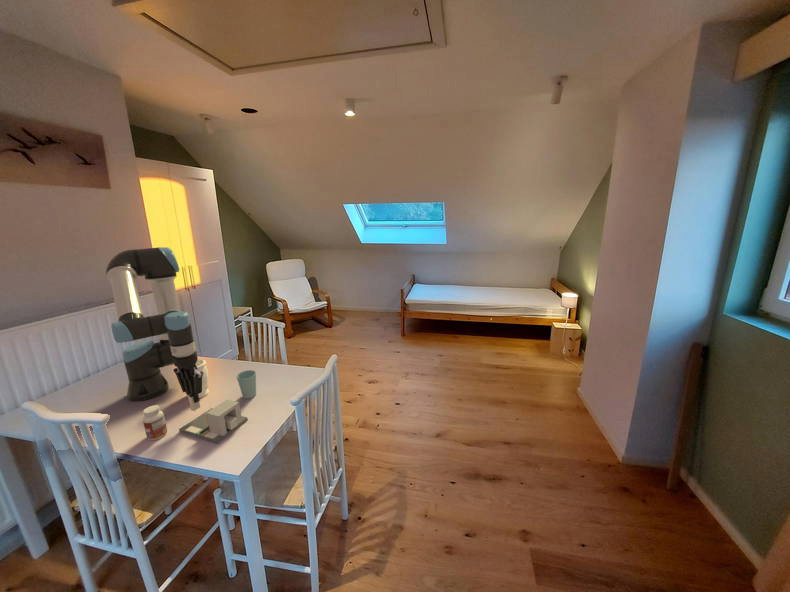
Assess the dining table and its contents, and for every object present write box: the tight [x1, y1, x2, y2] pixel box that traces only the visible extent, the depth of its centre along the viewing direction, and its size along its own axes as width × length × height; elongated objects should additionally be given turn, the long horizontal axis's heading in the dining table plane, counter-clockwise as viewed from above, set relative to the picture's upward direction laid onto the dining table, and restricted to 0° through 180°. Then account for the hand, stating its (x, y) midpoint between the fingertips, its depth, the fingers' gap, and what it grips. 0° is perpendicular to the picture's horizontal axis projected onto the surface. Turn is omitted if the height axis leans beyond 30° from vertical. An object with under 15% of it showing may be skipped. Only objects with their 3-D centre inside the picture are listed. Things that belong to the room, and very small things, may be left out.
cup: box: [236, 369, 257, 400], centre depth 142 cm, size 8×8×10 cm
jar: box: [186, 358, 210, 399], centre depth 143 cm, size 11×10×15 cm
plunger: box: [199, 412, 238, 434], centre depth 118 cm, size 10×10×6 cm
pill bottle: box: [142, 404, 168, 441], centre depth 117 cm, size 6×6×11 cm
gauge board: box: [178, 399, 249, 445], centre depth 122 cm, size 19×14×9 cm
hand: (195, 408), depth 125 cm, fingers closed
